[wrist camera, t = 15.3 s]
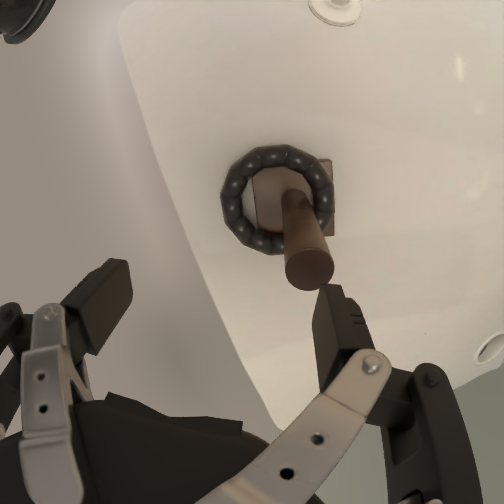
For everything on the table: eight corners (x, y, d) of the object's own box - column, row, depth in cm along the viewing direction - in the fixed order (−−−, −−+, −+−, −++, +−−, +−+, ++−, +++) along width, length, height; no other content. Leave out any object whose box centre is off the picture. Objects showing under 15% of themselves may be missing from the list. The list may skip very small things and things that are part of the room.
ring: (215, 152, 22) (210, 154, 21) (328, 140, 21) (332, 142, 19) (232, 253, 26) (229, 262, 25) (333, 244, 25) (337, 253, 24)
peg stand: (251, 164, 24) (226, 206, 12) (329, 158, 23) (383, 195, 11) (260, 236, 27) (247, 329, 15) (332, 231, 26) (371, 319, 14)
